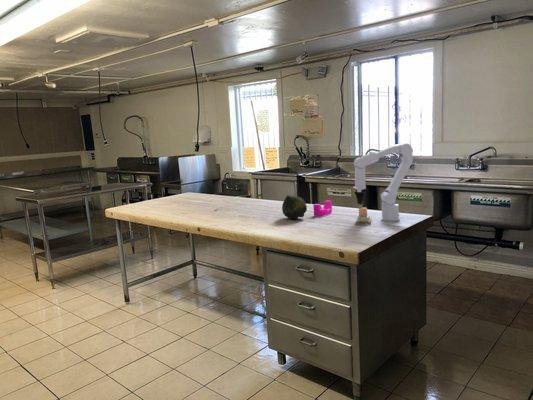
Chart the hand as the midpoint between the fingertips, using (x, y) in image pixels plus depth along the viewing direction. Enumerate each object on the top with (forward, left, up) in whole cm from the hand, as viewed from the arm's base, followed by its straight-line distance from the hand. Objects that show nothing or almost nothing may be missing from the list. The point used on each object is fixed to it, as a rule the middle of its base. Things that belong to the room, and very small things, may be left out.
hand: (360, 202), depth 238 cm
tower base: (-2, +5, -11) cm, 13 cm away
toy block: (+24, -18, -11) cm, 32 cm away
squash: (+40, -4, -11) cm, 42 cm away
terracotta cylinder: (-2, +5, -7) cm, 9 cm away
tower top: (-2, +5, -9) cm, 11 cm away
